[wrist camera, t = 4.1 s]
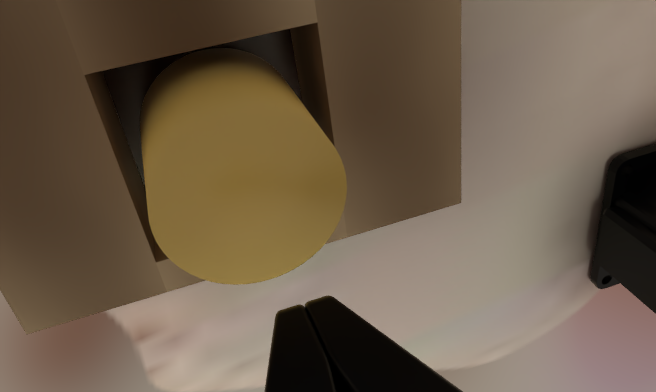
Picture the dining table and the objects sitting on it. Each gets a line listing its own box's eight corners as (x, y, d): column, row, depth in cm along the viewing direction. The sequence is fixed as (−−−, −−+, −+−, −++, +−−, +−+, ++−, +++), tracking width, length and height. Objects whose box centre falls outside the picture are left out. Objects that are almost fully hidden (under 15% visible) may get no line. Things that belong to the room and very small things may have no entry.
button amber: (282, 31, 14) (334, 87, 11) (307, 171, 16) (355, 252, 13) (116, 68, 13) (118, 141, 10) (165, 210, 15) (180, 307, 12)
